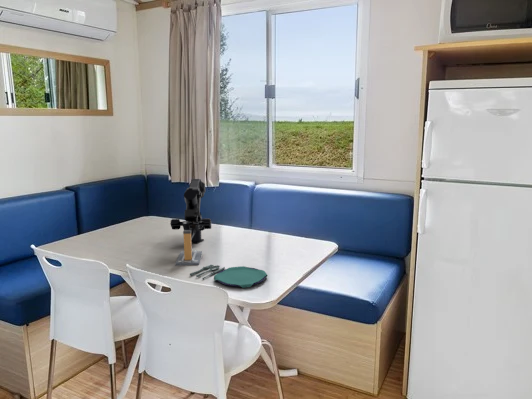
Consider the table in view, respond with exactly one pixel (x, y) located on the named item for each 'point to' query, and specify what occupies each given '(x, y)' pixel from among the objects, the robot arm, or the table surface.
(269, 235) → the table surface
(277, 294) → the table surface
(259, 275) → the cutlery set
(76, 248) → the table surface
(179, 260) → the board
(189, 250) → the tan wooden bar
